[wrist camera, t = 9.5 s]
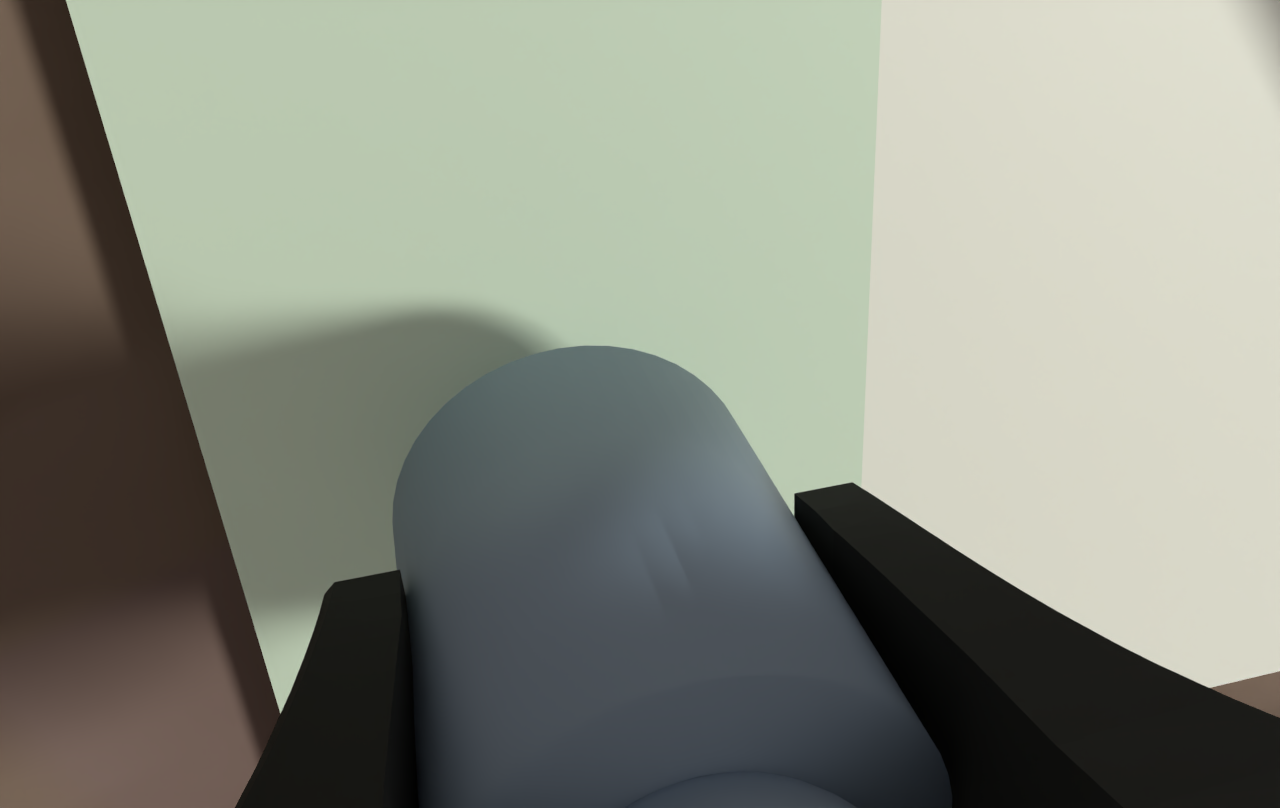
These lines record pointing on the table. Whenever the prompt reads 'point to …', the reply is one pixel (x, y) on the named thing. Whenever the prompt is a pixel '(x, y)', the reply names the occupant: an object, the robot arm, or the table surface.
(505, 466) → the pawn
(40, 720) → the table surface
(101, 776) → the table surface
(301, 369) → the pale green flat slab
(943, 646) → the robot arm
